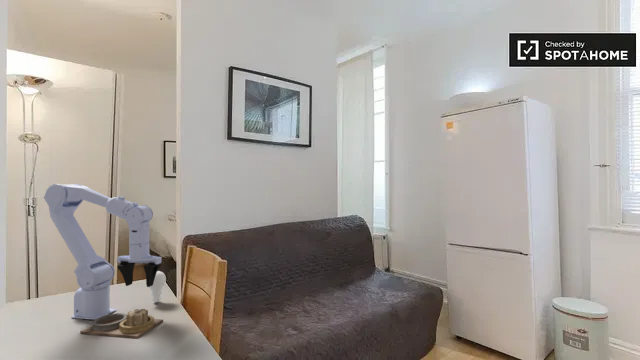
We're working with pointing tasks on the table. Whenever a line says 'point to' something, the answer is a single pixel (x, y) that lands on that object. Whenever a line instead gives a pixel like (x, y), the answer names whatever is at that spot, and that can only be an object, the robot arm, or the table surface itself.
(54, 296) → the table surface
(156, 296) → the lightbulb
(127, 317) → the gear
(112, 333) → the gear board
